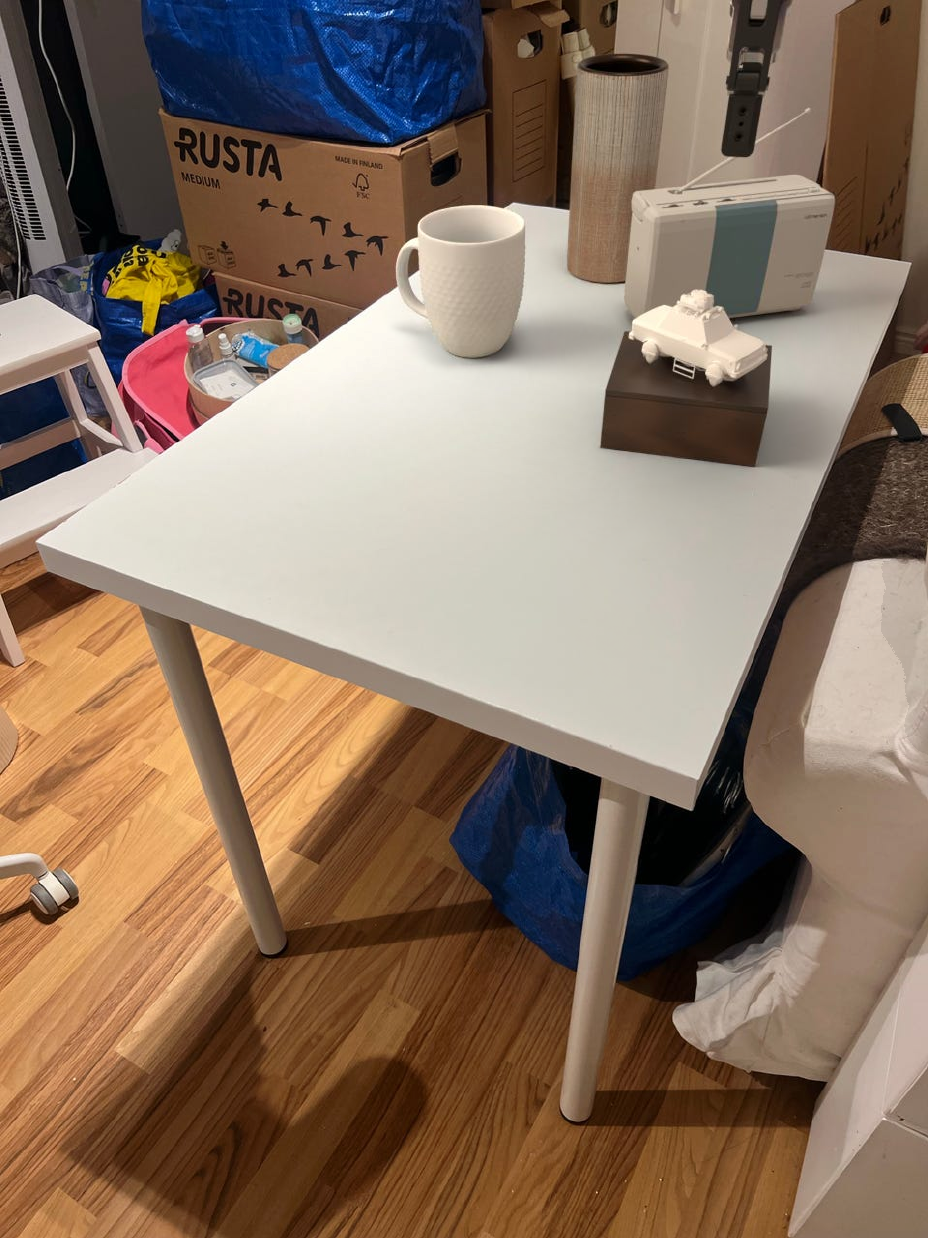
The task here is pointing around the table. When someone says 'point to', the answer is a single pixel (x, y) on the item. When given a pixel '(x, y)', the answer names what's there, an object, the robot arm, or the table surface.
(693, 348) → the toy car
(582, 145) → the planter
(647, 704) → the table surface
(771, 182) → the radio
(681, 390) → the stand
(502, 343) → the mug
